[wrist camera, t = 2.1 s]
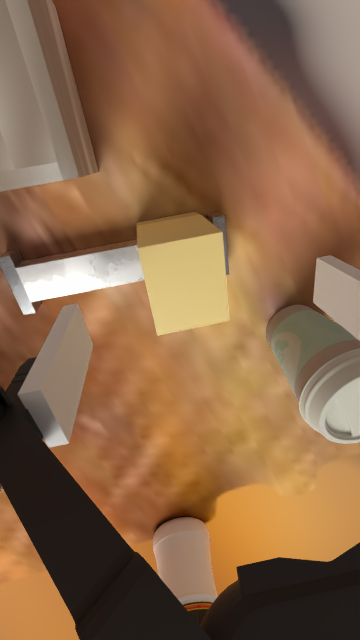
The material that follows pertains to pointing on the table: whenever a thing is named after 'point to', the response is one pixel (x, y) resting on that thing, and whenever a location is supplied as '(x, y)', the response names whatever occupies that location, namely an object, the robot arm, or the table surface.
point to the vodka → (186, 563)
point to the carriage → (183, 271)
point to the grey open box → (38, 100)
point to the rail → (79, 270)
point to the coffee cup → (319, 370)
